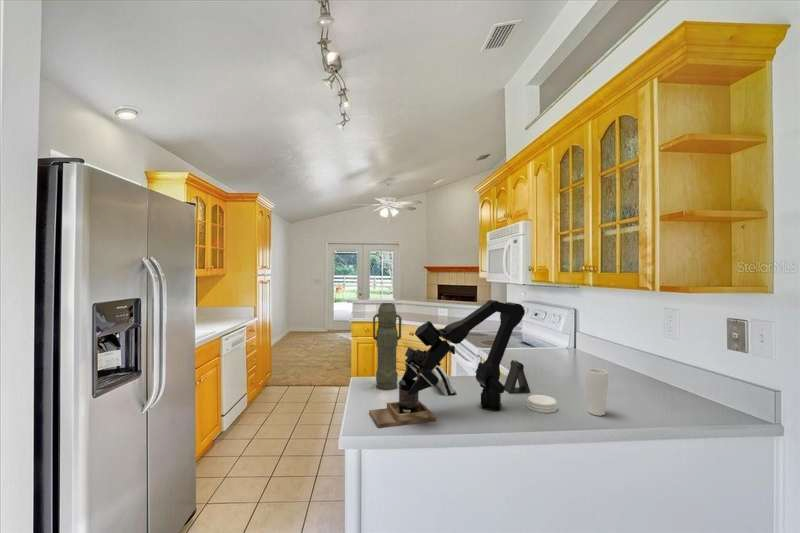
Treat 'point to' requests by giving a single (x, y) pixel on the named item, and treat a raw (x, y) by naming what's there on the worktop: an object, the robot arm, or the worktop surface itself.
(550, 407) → the coaster
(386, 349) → the thermos
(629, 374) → the worktop surface
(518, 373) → the phone stand
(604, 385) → the drinking glass
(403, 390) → the supplement container
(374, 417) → the board
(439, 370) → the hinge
